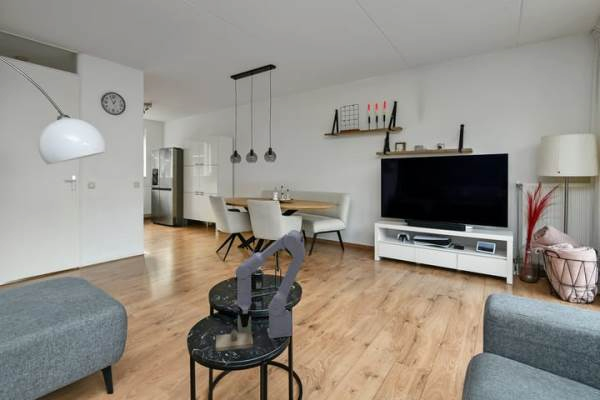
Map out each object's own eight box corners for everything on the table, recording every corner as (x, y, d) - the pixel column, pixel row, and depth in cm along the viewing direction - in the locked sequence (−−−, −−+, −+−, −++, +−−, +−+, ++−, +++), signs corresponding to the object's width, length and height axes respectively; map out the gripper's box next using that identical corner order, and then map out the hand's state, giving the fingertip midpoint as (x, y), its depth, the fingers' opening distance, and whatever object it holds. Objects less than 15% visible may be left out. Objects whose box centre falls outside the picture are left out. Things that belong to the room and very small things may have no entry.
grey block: (249, 326, 136) (249, 313, 136) (250, 331, 131) (250, 319, 131) (237, 327, 135) (237, 315, 135) (238, 333, 130) (238, 320, 130)
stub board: (251, 335, 128) (251, 324, 128) (253, 347, 120) (253, 335, 119) (216, 339, 125) (216, 328, 125) (215, 351, 116) (215, 340, 116)
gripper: (234, 286, 138) (234, 315, 139) (235, 299, 124) (235, 331, 125) (250, 285, 140) (249, 314, 141) (253, 297, 126) (252, 330, 127)
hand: (244, 322), depth 133 cm, fingers open, 7 cm apart
